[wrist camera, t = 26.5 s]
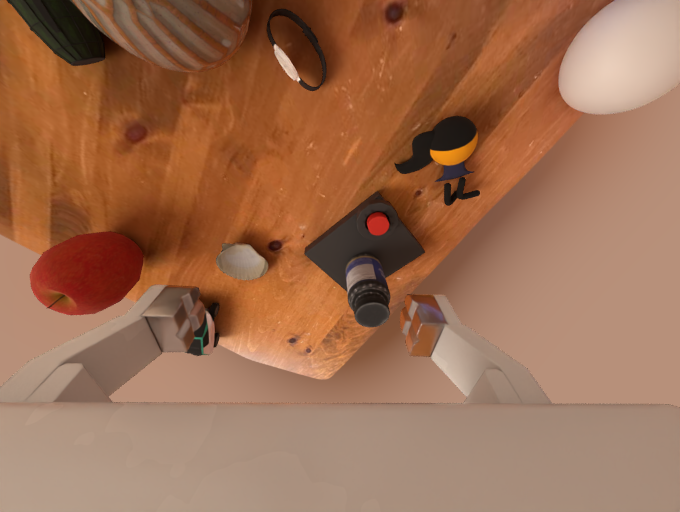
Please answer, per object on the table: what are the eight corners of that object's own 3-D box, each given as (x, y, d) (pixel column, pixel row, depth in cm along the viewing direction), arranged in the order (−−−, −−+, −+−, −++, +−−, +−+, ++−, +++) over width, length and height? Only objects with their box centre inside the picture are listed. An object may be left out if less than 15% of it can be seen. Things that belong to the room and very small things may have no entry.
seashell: (230, 266, 46) (271, 277, 46) (220, 278, 44) (264, 289, 44) (221, 230, 41) (268, 242, 40) (209, 242, 39) (259, 254, 38)
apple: (86, 207, 38) (-22, 261, 26) (161, 231, 40) (92, 289, 29) (91, 261, 43) (3, 326, 31) (157, 279, 45) (98, 345, 34)
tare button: (379, 207, 36) (381, 212, 35) (391, 222, 37) (393, 227, 36) (362, 220, 37) (363, 225, 36) (374, 234, 38) (376, 239, 37)
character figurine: (475, 175, 39) (472, 99, 30) (483, 202, 36) (481, 125, 27) (408, 193, 43) (387, 130, 34) (409, 218, 40) (387, 156, 31)
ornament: (562, 11, 29) (692, 4, 27) (529, 115, 34) (638, 116, 31) (634, -40, 20) (838, -56, 18) (576, 111, 25) (732, 113, 22)
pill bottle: (383, 278, 45) (397, 327, 35) (348, 284, 45) (354, 334, 36) (378, 248, 41) (393, 295, 32) (341, 256, 42) (345, 303, 33)
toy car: (190, 336, 54) (178, 359, 49) (186, 295, 47) (171, 316, 43) (219, 340, 55) (210, 362, 50) (219, 300, 48) (208, 321, 44)
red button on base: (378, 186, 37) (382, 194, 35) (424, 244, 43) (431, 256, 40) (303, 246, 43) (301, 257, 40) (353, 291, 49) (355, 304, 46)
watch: (311, 96, 28) (301, 105, 31) (339, 68, 29) (326, 79, 32) (258, 20, 24) (251, 39, 27) (291, -10, 25) (282, 11, 28)
